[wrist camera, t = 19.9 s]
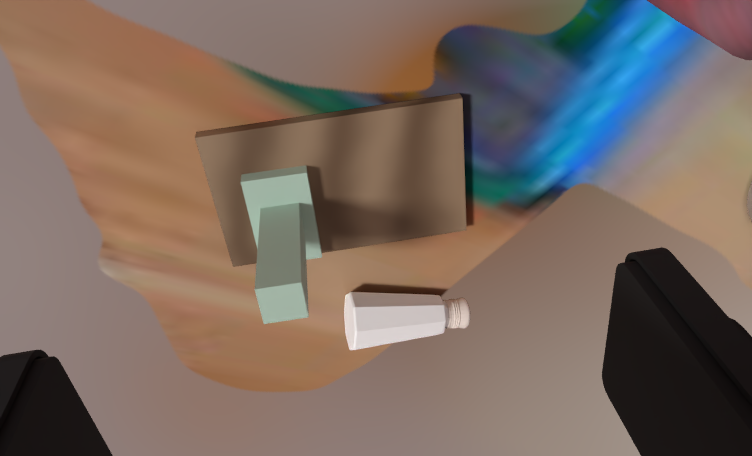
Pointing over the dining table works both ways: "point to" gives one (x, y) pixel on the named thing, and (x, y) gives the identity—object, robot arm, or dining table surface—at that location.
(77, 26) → the dining table surface
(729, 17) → the liquor
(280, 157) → the board
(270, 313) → the mint t-shaped block
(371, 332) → the pepper shaker
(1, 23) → the dining table surface
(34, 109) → the dining table surface
